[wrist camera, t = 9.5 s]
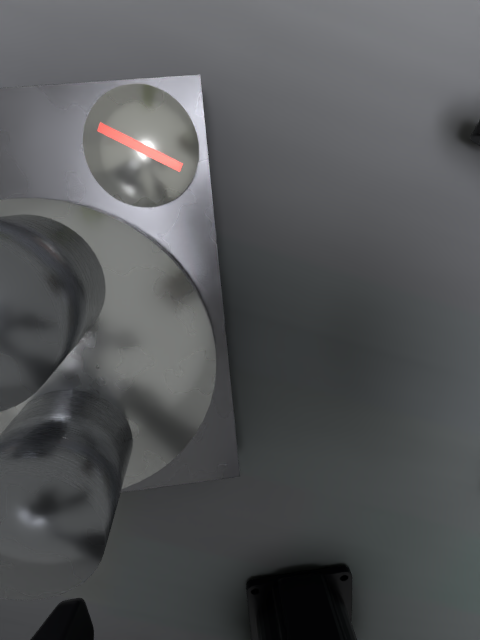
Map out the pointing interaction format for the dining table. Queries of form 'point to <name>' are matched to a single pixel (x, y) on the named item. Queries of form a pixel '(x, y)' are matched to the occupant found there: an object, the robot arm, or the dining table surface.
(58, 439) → the cylinder
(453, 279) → the dining table surface
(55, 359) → the steel spacer
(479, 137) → the valve
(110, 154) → the dial scale
